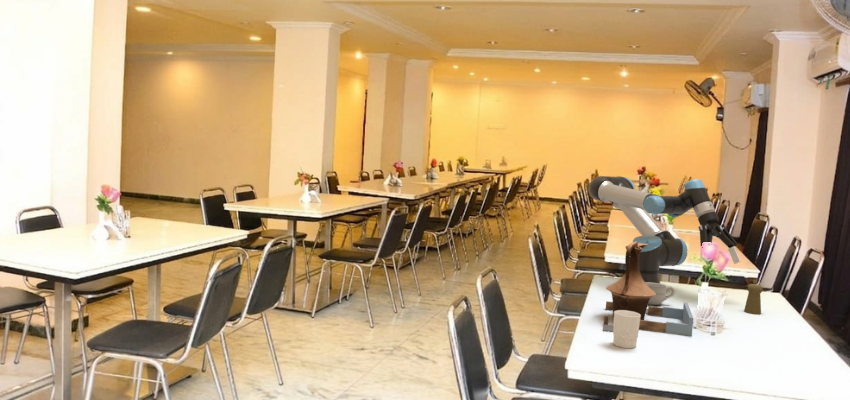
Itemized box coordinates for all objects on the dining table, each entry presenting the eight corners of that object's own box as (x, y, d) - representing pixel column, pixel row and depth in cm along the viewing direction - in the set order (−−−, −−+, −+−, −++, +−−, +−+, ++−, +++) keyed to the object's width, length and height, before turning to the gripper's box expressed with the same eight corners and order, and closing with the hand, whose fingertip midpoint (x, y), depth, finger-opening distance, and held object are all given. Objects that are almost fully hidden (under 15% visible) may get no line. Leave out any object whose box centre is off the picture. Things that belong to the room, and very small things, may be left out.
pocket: (665, 332, 235) (667, 315, 235) (662, 316, 259) (663, 299, 258) (691, 336, 233) (693, 318, 232) (685, 318, 256) (687, 302, 256)
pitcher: (645, 329, 238) (653, 247, 236) (596, 319, 247) (603, 240, 245) (658, 319, 253) (666, 242, 251) (612, 310, 262) (618, 235, 260)
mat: (602, 330, 233) (602, 330, 233) (603, 325, 240) (603, 324, 240) (634, 334, 230) (634, 334, 230) (634, 328, 238) (634, 328, 238)
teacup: (634, 304, 276) (636, 284, 275) (637, 299, 286) (639, 279, 285) (672, 309, 270) (674, 289, 270) (674, 304, 280) (675, 284, 280)
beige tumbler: (623, 350, 212) (626, 317, 211) (605, 342, 219) (608, 310, 218) (643, 347, 216) (646, 315, 215) (625, 340, 223) (627, 309, 222)
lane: (603, 324, 241) (604, 316, 240) (605, 309, 264) (606, 301, 264) (665, 332, 235) (666, 323, 235) (661, 315, 259) (662, 307, 258)
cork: (757, 311, 277) (760, 283, 276) (763, 314, 271) (766, 286, 270) (741, 309, 277) (744, 282, 276) (747, 313, 271) (750, 285, 270)
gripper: (693, 209, 280) (714, 259, 271) (732, 211, 293) (754, 258, 284) (679, 218, 285) (699, 267, 277) (718, 219, 298) (738, 265, 290)
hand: (727, 262), depth 280 cm, fingers open, 13 cm apart
